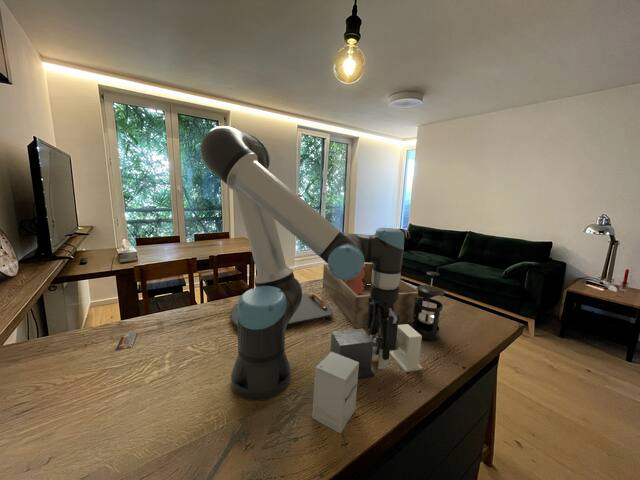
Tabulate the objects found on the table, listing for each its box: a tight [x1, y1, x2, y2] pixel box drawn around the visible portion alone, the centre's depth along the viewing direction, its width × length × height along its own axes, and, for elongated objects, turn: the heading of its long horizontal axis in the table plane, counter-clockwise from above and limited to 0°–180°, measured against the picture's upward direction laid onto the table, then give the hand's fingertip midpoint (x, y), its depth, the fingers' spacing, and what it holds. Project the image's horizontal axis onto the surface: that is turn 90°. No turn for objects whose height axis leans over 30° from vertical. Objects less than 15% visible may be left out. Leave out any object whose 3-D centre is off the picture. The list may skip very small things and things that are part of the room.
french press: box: [411, 271, 445, 342], centre depth 96 cm, size 12×9×23 cm
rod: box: [371, 334, 399, 356], centre depth 77 cm, size 16×5×5 cm, turn 106°
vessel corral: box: [322, 262, 423, 329], centre depth 122 cm, size 27×41×12 cm, turn 15°
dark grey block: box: [330, 328, 376, 380], centre depth 76 cm, size 11×9×10 cm
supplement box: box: [311, 351, 359, 434], centre depth 60 cm, size 7×7×13 cm
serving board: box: [229, 293, 333, 328], centre depth 107 cm, size 39×23×6 cm, turn 118°
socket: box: [389, 323, 424, 373], centre depth 81 cm, size 6×9×10 cm, turn 16°
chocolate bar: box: [114, 332, 139, 352], centre depth 85 cm, size 11×5×1 cm, turn 24°
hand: (377, 361), depth 79 cm, fingers closed on rod, 5 cm apart
